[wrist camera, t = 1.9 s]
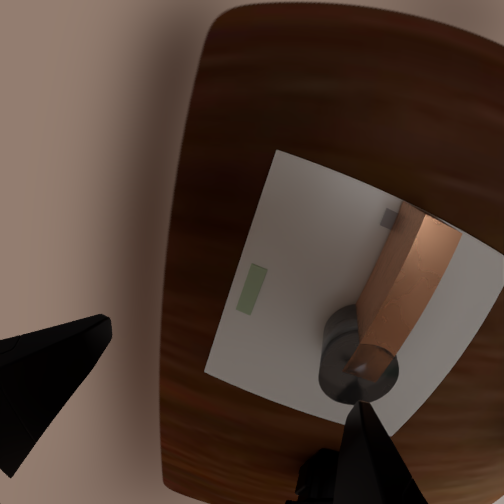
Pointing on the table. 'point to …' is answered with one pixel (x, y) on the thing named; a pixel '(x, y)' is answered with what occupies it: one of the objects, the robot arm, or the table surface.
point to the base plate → (336, 293)
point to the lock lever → (385, 309)
